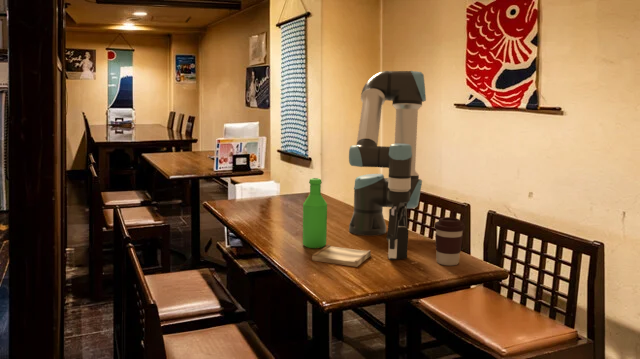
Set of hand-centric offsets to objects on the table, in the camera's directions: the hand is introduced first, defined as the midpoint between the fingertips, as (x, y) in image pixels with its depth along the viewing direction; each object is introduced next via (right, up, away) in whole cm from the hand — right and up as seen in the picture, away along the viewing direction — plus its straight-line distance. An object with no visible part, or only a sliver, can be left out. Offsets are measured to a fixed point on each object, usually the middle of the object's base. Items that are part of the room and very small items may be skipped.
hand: (396, 253), depth 198 cm
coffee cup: (+17, -3, -4) cm, 17 cm away
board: (-19, -1, 0) cm, 19 cm away
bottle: (-28, +1, +14) cm, 32 cm away
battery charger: (0, -2, 0) cm, 2 cm away
